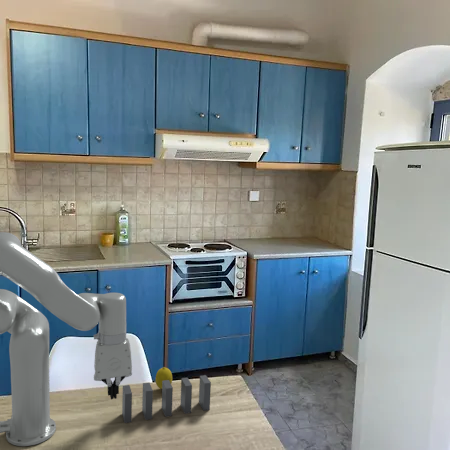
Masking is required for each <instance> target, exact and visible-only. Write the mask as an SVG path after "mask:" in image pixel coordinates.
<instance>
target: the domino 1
mask: <svg viewBox="0 0 450 450" xmlns="http://www.w3.org/2000/svg"><path fill="white" fill-rule="evenodd" d="M121 401H122V405H121V406H122V408H121V411H122V412H121V413H122V418H123V422H124V423H123V424H126V423H132V419H133V418H132V416H133V415H132V414H133V413H132V412H133V408H132V407H133V392H132V389H131V385H129V384H127V385H122V400H121Z"/></svg>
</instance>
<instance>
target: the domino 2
mask: <svg viewBox="0 0 450 450" xmlns="http://www.w3.org/2000/svg"><path fill="white" fill-rule="evenodd" d="M153 391H154V390H153V388H152V386H151V383H150V382H143V383H142V401H141V402H142V405H141V406H142V407H141V409H142V414H143V417H144V418H143V419H144V420H145V421H148V420H153V398H154V393H153Z"/></svg>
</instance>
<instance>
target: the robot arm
mask: <svg viewBox="0 0 450 450" xmlns="http://www.w3.org/2000/svg"><path fill="white" fill-rule="evenodd" d="M0 275H2V276H3V277H4V278H6V279H8V280H10V282H12V283H14V284H15V285H17V286H19V287H20V288H22V289H23V290H24V291H26V292H27V293H28V294H30V295H31V296H32V297H33V298H35V300H37V302H39V303H40V304H41V305H42V306H43V308H45V309H46V310H48V312H50V314H53V315H54V316H55V317H57V318H58V319H59V320H61V321H62V322H64V323H66V324H67V325H68V326H70V327H72V328H74V329H76V330H78V331H82V332H87V331H90V330H92V329H94V328H96V326H97V325H98V332H97V333H96V334H93V340H97V341H96V345H95V351H94V366H93V367H94V375H93V380H94V381H96V382H103V383H104V384H105V385H107V396H109V397H110V399H111V400H113V399H115V400H116V399H117V398H118V397H117V395H119V394H120V392H119V391H120V385H121V382H123V381H124V379H125V378H129V377H132V375H133V372H132V371H133V368H132V367H133V362H132V360H133V359H132V350H131V343H130V340H129V338H127V298H126V296H125V294H123V293H120V292H107V293H93V292H82V293H78V294H77V293H75V291H73V290H72V289H71V288H70V287H68V286H67V285H66V284H65V282H64V281H63V280H62V279H61V277H60V275H59V274H58V272H57V271H56V270H55V269H54V268H53V267H52V266H51V265H50V264H48V263H47V262H45V261H44V260H42V259H41V258H40V257H38V256H37V255H35V254H34V253H32V252H30V251H29V250H28V249H26V248H25V247H24V246H22V242H21V240H20V239H19V237H17V235H15V234H13V233H11V232H6V231H0ZM7 332H8V333H9V334H11V335H10V338H9V339H10V340H9V347H8V348H9V349H8V353H9V362H10V384H11V385H10V387H11V390H10V391H11V416H10V417H11V418H7V419H6V420H0V433H1V434H3V433H5V437H6V438H5V439H6V441H7V442H8V443H9V444H11V445H13V446H17V447H28V446H34V445H39V444H42V443H43V442H45V441H46V440H48V439H50V438H51V437H52V436H53V435H54V434H55V433H56V428H57V425H56V421H55V420H54V419H53V418H51V409H50V408H51V406H50V401H51V400H50V399H51V395H50V393H51V391H50V323H49V320H48V318H47V317H46V316H45V314H43V313H42V311H40V310H38V308H36V307H34V306H33V305H31V304H30V303H29V302H27V301H26V300H24V299H23V298H22V297H20V296H18V295H17V294H16V293H14V292H12V291H10V290H9V289H3V288H0V335H2V334H4V333H7ZM113 378H114V380H113V381H112V380H111V379H113Z"/></svg>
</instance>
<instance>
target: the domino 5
mask: <svg viewBox="0 0 450 450" xmlns="http://www.w3.org/2000/svg"><path fill="white" fill-rule="evenodd" d="M211 385H212V382H211V380H210V379H209V378H208V375H206V374H204V375H203V374H202V375H199V387H198V389H199V391H198V404H199V405H200V407H201V409H202V410H203V412H205V411H209V410H211V409H210V408H211V387H212V386H211Z"/></svg>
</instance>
